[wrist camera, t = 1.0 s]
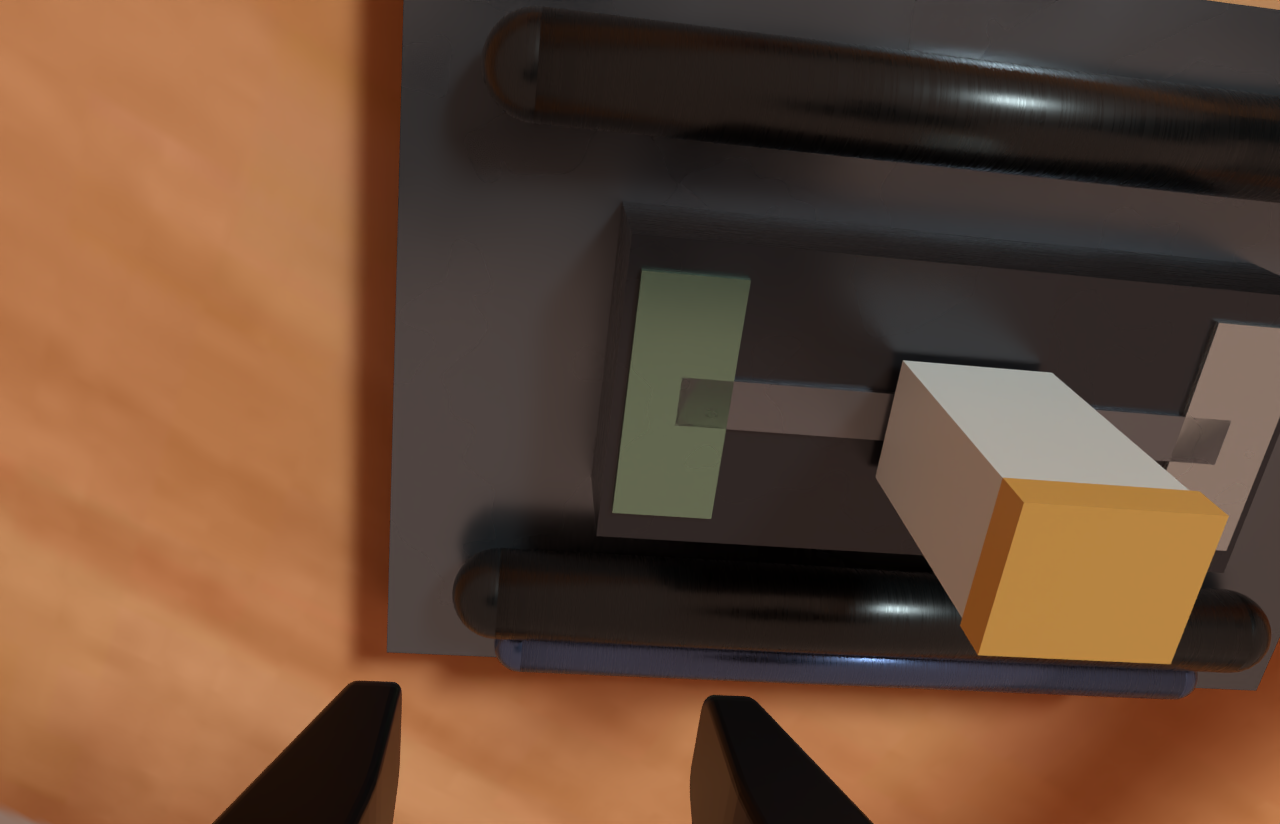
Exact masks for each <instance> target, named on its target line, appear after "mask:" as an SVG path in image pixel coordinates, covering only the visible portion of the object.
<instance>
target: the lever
mask: <svg viewBox="0 0 1280 824" xmlns="http://www.w3.org/2000/svg"><path fill="white" fill-rule="evenodd" d="M876 479H877V481H878V482H879V484H880V485H881V487H882V489H883V490H884V492H885V494H886V495H887V497H888V498H889V500H890V502H891V503H892V505H893V507H894V508H895V510H896V511H897V513H898V515H899V516H900V518H901V520H902V521H903V523H904V524H905V526H906V528H907V529H908V531H909V533H910V534H911V536H912V537H913V539H914V541H915V542H916V544H917V546H918V547H919V549H920V550H921V552H922V554H923V555H924V557H925V559H926V560H927V562H928V564H929V565H930V567H931V568H932V570H933V572H934V573H935V575H936V577H937V578H938V580H939V581H940V583H941V585H942V586H943V588H944V590H945V591H946V593H947V594H948V596H949V598H950V599H951V601H952V603H953V604H954V606H955V607H956V609H957V611H958V612H959V614H960V616H961V617H962V620H961V624H960V626H961V628H962V630H963V631H964V633H965V635H966V636H967V638H968V640H969V641H970V643H971V645H972V646H973V648H974V650H975V651H976V653H977V655H984V656H1005V657H1026V658H1047V659H1069V660H1090V661H1111V662H1133V663H1154V664H1171V662H1172V660H1173V657H1174V655H1175V652H1176V649H1177V647H1178V644H1179V642H1180V639H1181V637H1182V634H1183V632H1184V629H1185V627H1186V624H1187V621H1188V619H1189V616H1190V614H1191V611H1192V609H1193V606H1194V604H1195V601H1196V599H1197V596H1198V594H1199V591H1200V588H1201V586H1202V583H1203V581H1204V578H1205V576H1206V573H1207V571H1208V568H1209V566H1210V563H1211V560H1212V558H1213V555H1214V553H1215V550H1216V548H1217V545H1218V543H1219V540H1220V538H1221V535H1222V533H1223V530H1224V527H1225V525H1226V522H1227V520H1228V517H1229V516H1228V515H1227V514H1226V513H1225V512H1223V511H1222V510H1221V509H1220V508H1219V507H1218V506H1216V505H1215V504H1214V503H1213V502H1212V501H1210V500H1209V499H1208V498H1207V497H1206V496H1205V495H1203V494H1202V493H1201V492H1200V491H1190V490H1188V489H1187V488H1186V487H1185V486H1184V485H1182V484H1181V483H1180V482H1179V481H1178V480H1177V479H1175V478H1174V477H1173V476H1172V475H1171V474H1170V473H1168V472H1167V471H1166V470H1165V469H1164V468H1163V467H1161V466H1160V465H1159V464H1158V463H1157V462H1156V461H1154V460H1153V459H1152V458H1151V457H1150V456H1149V455H1147V454H1146V453H1145V452H1144V451H1143V450H1142V449H1140V448H1139V447H1138V446H1137V445H1136V444H1135V443H1133V442H1132V441H1131V440H1130V439H1129V438H1128V437H1126V436H1125V435H1124V434H1123V433H1122V432H1121V431H1119V430H1118V429H1117V428H1116V427H1115V426H1114V425H1112V424H1111V423H1110V422H1109V421H1108V420H1107V419H1105V418H1104V417H1103V416H1102V415H1101V414H1100V413H1098V412H1097V411H1096V410H1095V409H1094V408H1093V407H1091V406H1090V405H1089V404H1088V403H1087V402H1086V401H1084V400H1083V399H1082V398H1081V397H1080V396H1079V395H1077V394H1076V393H1075V392H1074V391H1073V390H1072V389H1070V388H1069V387H1068V386H1067V385H1066V384H1065V383H1063V382H1062V381H1061V380H1060V379H1059V378H1058V377H1056V376H1055V375H1054V374H1053V373H1050V372H1038V371H1025V370H1013V369H1001V368H989V367H977V366H965V365H953V364H941V363H929V362H917V361H905V360H903V361H902V366H901V370H900V374H899V379H898V383H897V387H896V391H895V396H894V400H893V404H892V408H891V413H890V417H889V421H888V425H887V430H886V434H885V438H884V443H883V447H882V451H881V455H880V460H879V464H878V468H877V472H876Z"/></svg>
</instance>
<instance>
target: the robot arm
mask: <svg viewBox="0 0 1280 824" xmlns="http://www.w3.org/2000/svg"><path fill="white" fill-rule="evenodd" d="M401 711H402V691H401V688H400V686H399V685H398V684H397V683H395V682H380V681H353V682H352V683H350V684H348V685H347V686H346V687H345V688H344V689H343V690H342V691H341V692H340V693H339V694H338V695H337V696H336V697H335V698H334V699H333V700H332V701H331V702H330V703H329V704H328V705H327V706H326V707H325V708H324V709H323V710H322V712H321V713H320V714H319V715H318V716H317V717H316V718H315V719H314V720H313V721H312V722H311V723H310V724H309V725H308V726H307V727H306V728H305V729H304V730H303V731H302V732H301V733H300V734H299V735H298V736H297V737H296V738H295V739H294V740H293V741H292V742H291V743H290V744H289V745H288V746H287V747H286V748H285V749H284V750H283V752H282V753H281V754H280V755H279V756H278V757H277V758H276V759H275V760H274V761H273V762H272V763H271V764H270V765H269V766H268V767H267V768H266V769H265V770H264V771H263V772H262V773H261V774H260V775H259V776H258V777H257V778H256V779H255V780H254V781H253V782H252V783H251V784H250V785H249V786H248V787H247V788H246V789H245V791H244V792H243V793H242V794H241V795H240V796H239V797H238V798H237V799H236V800H235V801H234V802H233V803H232V804H231V805H230V806H229V807H228V808H227V809H226V810H225V811H224V812H223V813H222V814H221V815H220V816H219V817H218V818H217V819H216V820H215V821H214V822H213V823H212V824H393V817H394V809H395V802H396V794H397V787H398V778H399V766H400V741H401ZM690 802H691V815H692V824H873V823H872V822H871V821H870V820H869V818H868V817H867V816H866V815H865V814H864V813H863V812H862V811H861V810H860V809H859V808H858V807H857V806H856V805H855V804H854V803H853V802H852V801H851V800H850V799H849V798H848V797H847V795H846V794H845V793H844V792H843V791H842V790H841V789H840V788H839V787H838V786H837V785H836V784H835V783H834V782H833V781H832V780H831V779H830V778H829V777H828V776H827V775H826V774H825V772H824V771H823V770H822V769H821V768H820V767H819V766H818V765H817V764H816V763H815V762H814V761H813V760H812V759H811V758H810V757H809V756H808V755H807V754H806V753H805V752H804V751H803V750H802V748H801V747H800V746H799V745H798V744H797V743H796V742H795V741H794V740H793V739H792V738H791V737H790V736H789V735H788V734H787V733H786V732H785V731H784V730H783V729H782V728H781V727H780V725H779V724H778V723H777V722H776V721H775V720H774V719H773V718H772V717H771V716H770V715H769V714H768V713H767V712H766V711H765V710H764V709H763V708H762V707H761V706H760V705H759V704H758V703H757V702H756V701H755V700H754V699H752V698H750V697H746V696H723V695H711V696H709V697H708V698H707V699H706V700H705V701H704V703H703V706H702V709H701V715H700V720H699V726H698V732H697V737H696V743H695V749H694V754H693V760H692V766H691V774H690Z"/></svg>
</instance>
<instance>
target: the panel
mask: <svg viewBox="0 0 1280 824" xmlns="http://www.w3.org/2000/svg"><path fill="white" fill-rule="evenodd" d="M903 360H905V361H917V362H929V363H941V364H953V365H965V366H977V367H989V368H1001V369H1013V370H1025V371H1038V372H1050V373H1053V374H1054V375H1055V376H1056V377H1058V378H1059V379H1060V380H1061V381H1062V382H1063V383H1065V384H1066V385H1067V386H1068V387H1069V388H1070V389H1072V390H1073V391H1074V392H1075V393H1076V394H1077V395H1079V396H1080V397H1081V398H1082V399H1083V400H1084V401H1086V402H1087V403H1088V404H1089V405H1090V406H1091V407H1093V408H1094V409H1095V410H1096V411H1097V412H1098V413H1100V414H1101V415H1102V416H1103V417H1104V418H1105V419H1107V420H1108V421H1109V422H1110V423H1111V424H1112V425H1114V426H1115V427H1116V428H1117V429H1118V430H1119V431H1121V432H1122V433H1123V434H1124V435H1125V436H1126V437H1128V438H1129V439H1130V440H1131V441H1132V442H1133V443H1135V444H1136V445H1137V446H1138V447H1139V448H1140V449H1142V450H1143V451H1144V452H1145V453H1146V454H1147V455H1149V456H1150V457H1151V458H1152V459H1153V460H1154V461H1156V462H1157V463H1158V464H1159V465H1160V466H1161V467H1163V468H1164V469H1165V470H1166V471H1167V472H1168V473H1170V474H1171V475H1172V476H1173V477H1174V478H1175V479H1177V480H1178V481H1179V482H1180V483H1181V484H1182V485H1184V486H1185V487H1186V488H1187V489H1188V490H1190V491H1200V492H1201V493H1202V494H1203V495H1205V496H1206V497H1207V498H1208V499H1209V500H1210V501H1212V502H1213V503H1214V504H1215V505H1216V506H1218V507H1219V508H1220V509H1221V510H1222V511H1223V512H1225V513H1226V514H1227V515H1228V516H1229V517H1228V520H1227V522H1226V525H1225V527H1224V530H1223V533H1222V535H1221V538H1220V540H1219V543H1218V545H1217V548H1216V550H1215V553H1214V555H1213V558H1212V560H1211V563H1210V566H1209V568H1208V571H1207V573H1206V576H1205V578H1204V581H1203V583H1202V586H1201V588H1200V591H1199V594H1198V596H1197V599H1196V601H1195V604H1194V606H1193V609H1192V611H1191V614H1190V616H1189V619H1188V621H1187V624H1186V627H1185V629H1184V632H1183V634H1182V637H1181V639H1180V642H1179V644H1178V647H1177V649H1176V652H1175V655H1174V657H1173V660H1172V662H1171V664H1154V663H1133V662H1111V661H1090V660H1069V659H1047V658H1026V657H1005V656H984V655H977V653H976V651H975V650H974V648H973V646H972V645H971V643H970V641H969V640H968V638H967V636H966V635H965V633H964V631H963V630H962V628H961V626H960V624H961V620H962V617H961V616H960V614H959V612H958V611H957V609H956V607H955V606H954V604H953V603H952V601H951V599H950V598H949V596H948V594H947V593H946V591H945V590H944V588H943V586H942V585H941V583H940V581H939V580H938V578H937V577H936V575H935V573H934V572H933V570H932V568H931V567H930V565H929V564H928V562H927V560H926V559H925V557H924V555H923V554H922V552H921V550H920V549H919V547H918V546H917V544H916V542H915V541H914V539H913V537H912V536H911V534H910V533H909V531H908V529H907V528H906V526H905V524H904V523H903V521H902V520H901V518H900V516H899V515H898V513H897V511H896V510H895V508H894V507H893V505H892V503H891V502H890V500H889V498H888V497H887V495H886V494H885V492H884V490H883V489H882V487H881V485H880V484H879V482H878V481H877V479H876V472H877V468H878V464H879V460H880V455H881V451H882V447H883V443H884V438H885V434H886V430H887V425H888V421H889V417H890V413H891V408H892V404H893V400H894V396H895V391H896V387H897V383H898V379H899V374H900V370H901V366H902V361H903ZM1279 638H1280V10H1275V9H1268V8H1260V7H1253V6H1245V5H1238V4H1230V3H1222V2H1215V1H1207V0H404V5H403V43H402V82H401V121H400V160H399V199H398V238H397V277H396V316H395V355H394V394H393V433H392V472H391V511H390V550H389V589H388V628H387V652H393V653H416V654H439V655H461V656H484V657H497V658H498V660H499V661H500V663H501V664H502V665H504V666H505V667H506V668H508V669H510V670H513V671H518V672H536V673H559V674H583V675H606V676H630V677H653V678H677V679H701V680H724V681H748V682H771V683H795V684H818V685H842V686H865V687H889V688H913V689H936V690H960V691H983V692H1007V693H1030V694H1054V695H1077V696H1101V697H1125V698H1148V699H1180V698H1183V697H1186V696H1187V695H1189V694H1190V693H1191V692H1192V691H1193V690H1194V689H1195V688H1210V689H1233V690H1257V688H1258V685H1259V683H1260V681H1261V679H1262V676H1263V674H1264V672H1265V669H1266V667H1267V665H1268V663H1269V660H1270V658H1271V656H1272V654H1273V651H1274V649H1275V647H1276V644H1277V642H1278V640H1279Z"/></svg>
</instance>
